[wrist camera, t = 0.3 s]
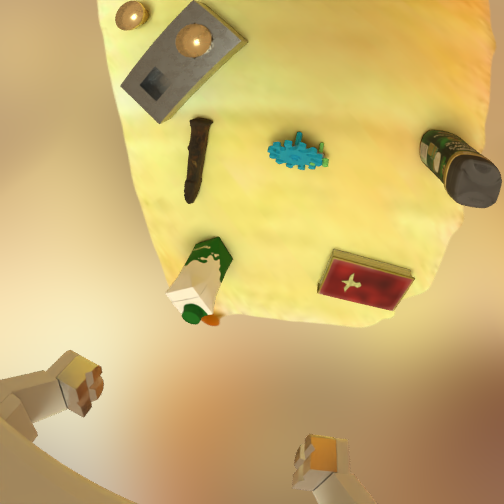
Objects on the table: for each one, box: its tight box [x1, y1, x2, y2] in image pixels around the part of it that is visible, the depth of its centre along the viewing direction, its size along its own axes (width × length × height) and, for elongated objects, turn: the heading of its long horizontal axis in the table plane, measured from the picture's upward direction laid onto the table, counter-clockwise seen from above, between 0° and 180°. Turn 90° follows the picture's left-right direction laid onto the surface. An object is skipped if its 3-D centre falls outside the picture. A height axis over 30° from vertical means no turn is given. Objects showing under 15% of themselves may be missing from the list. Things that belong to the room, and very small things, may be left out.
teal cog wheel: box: [267, 132, 329, 170], centre depth 51 cm, size 11×6×10 cm
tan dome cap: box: [115, 1, 149, 30], centre depth 39 cm, size 6×6×5 cm
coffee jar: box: [420, 130, 502, 208], centre depth 38 cm, size 10×8×19 cm
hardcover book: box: [317, 249, 415, 311], centre depth 67 cm, size 12×21×4 cm, turn 82°
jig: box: [121, 0, 248, 124], centre depth 44 cm, size 22×12×6 cm, turn 134°
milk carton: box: [165, 237, 233, 324], centre depth 65 cm, size 9×9×20 cm
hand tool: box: [184, 118, 213, 204], centre depth 57 cm, size 19×4×5 cm, turn 167°
